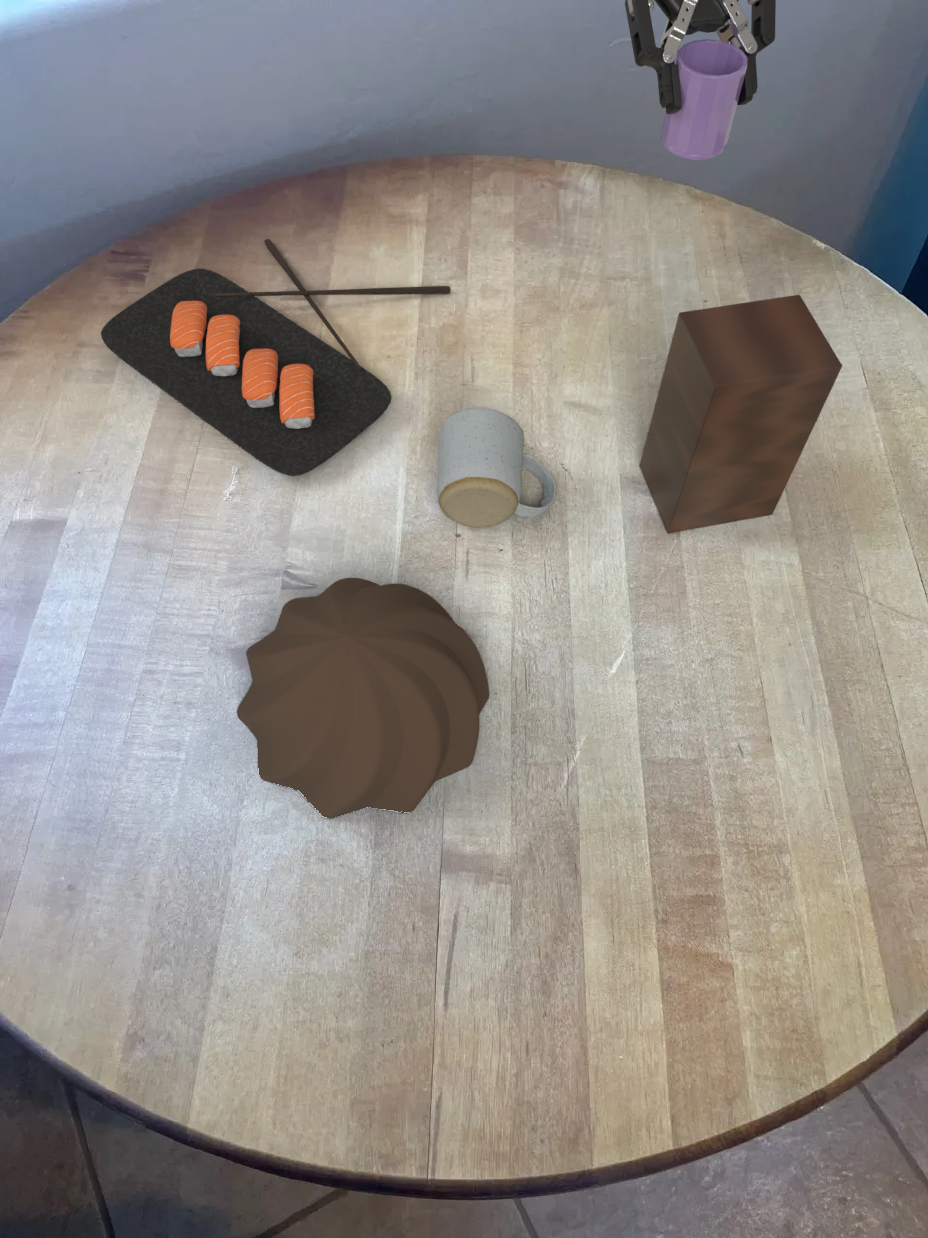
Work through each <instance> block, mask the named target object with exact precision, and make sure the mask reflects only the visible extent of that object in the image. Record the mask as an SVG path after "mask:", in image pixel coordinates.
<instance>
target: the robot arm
mask: <svg viewBox="0 0 928 1238" xmlns="http://www.w3.org/2000/svg"><path fill="white" fill-rule="evenodd" d="M739 1H740V0H624V7H625V13H626V19H627V24H628V31H629V36H630V40H631V48H632V52H633V58H634V62H635V65H636V66H637V67H644V66H646V67H649V68H652V69H653V70H654V71H655V72H656V76H657V77H656V78H657V87H658V99H659V105H660V107H661V109H665V113H667V114H675V113H676V112H678V111H679V110H680V109H681V106H682V101H681V89H680V77H679V68H678V64H675V62H676V57H677V52H678V50H679V49H680V48H681V47H680V46H681V45H682V41H683V39H684V37H685V36H691V35H694V34H696V33H698V32H701V33H705V34H708V33H716V34H717V36H718V38H719V40H720V41H723V42H727V43H730V44H733V45H734V46H736V47H737V48H739V49H741V50H742V51H743V52H744V54H745V55H746V57H747V58H748V62H747V69H746V73H745V77H744V81H743V84H742V88H741V92H740V96H739V100H738V104H737V106H744V105H747V104H748V103H750V102H752V100H753V98H754V95H755V94H756V93H757V90H758V88H759V87H758V84H759V83H758V71H757V55H758V53H761V52H762V51H763V50H764V49H766V48H767V47H768V46H770V45H771V44H772V43H774V42H775V40H776V10H777V9H776V8H777V7H776V5H777V3H776V2H777V0H747V4H748V5H750V6H751V13H750V14H751V17H750V18H751V20H750V21H751V23H750V25H751V28H750V27H749V26H748V24H749V20H748V18H747V16H746V14H745V12H744V11H743V8H742V7H741V5H740V3H739ZM655 3H656V5H657V6H658V7H659V9H660V10H661V11H662V13H663V14H664V15H665V16H666V18H667V22H666V24H665V27H664V30H663V33H662V35H661V37H660V41H659V42H660V45H659V47H657V45H656V39H655V34H654V33H655V32H654V28H653V23H652V16H651V13H652V12H653V10H654V8H655Z"/></svg>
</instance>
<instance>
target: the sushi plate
mask: <svg viewBox="0 0 928 1238" xmlns="http://www.w3.org/2000/svg"><path fill="white" fill-rule="evenodd" d="M264 245H265V247H266V246H267V247H266V248H267V249H268V251H269V252H270V254H271V255H272V256H273V258H274V259H275V260H276V262H277V263H278V264H279V266H280V267H281V268H282V270H283V272H284V273H286V275H287V276H288V277H289V279H290V280H291V281H292V283H293V284H294V285H295V287H296V288H297V289H298V290H286V291H285V290H283V291H247V290H246V289H245V288H243V287H241V286H239V285H238V284H236V283H235V282H233V281H232V280H230V279H228V278H227V277H225V276H223V275H222V274H220V273H217V272H215V271H213V270H211V269H208V268H207V269H206V268H200V267H199V268H198V267H197V268H193V269H189V270H186V271H184V272H182V273H179V274H178V275H176V276H175V277H172V278H171V279H169V280H167V281H165V282H164V283H162V284H161V285H159V286H157V287H156V288H155V289H152V290H151V291H150V292H148V293H147V294H145V295H144V296H142V297H140V298H139V299H138V300H136V301H134V302H133V303H131V304H130V305H129V306H127V307H126V308H124V309H123V310H121V311H120V312H118V313H116V315H115V316H113V317H112V318H111V319H110V320H109V321H107V322H106V323H105V325H103V327H102V329H101V331H100V337H101V339H102V341H103V344H104V345H105V346H106V347H107V348H108V349H109V350H110V351H111V352H112V353H113V354H114V355H115V356H117V358H119V359H120V360H122V361H123V362H124V363H125V364H127V365H128V366H130V367H131V368H132V369H134V370H135V371H136V372H138V374H140V375H142V376H143V377H144V378H145V379H147V380H148V381H149V382H151V383H152V384H154V385H155V386H157V387H158V388H159V389H161V390H162V391H163V392H164V393H166V394H167V395H169V396H170V398H173V399H174V400H175V401H177V402H178V403H180V404H181V405H183V407H185V408H186V409H187V410H189V411H190V412H192V413H193V414H194V415H196V416H197V417H198V418H200V419H201V420H203V421H204V422H205V423H207V424H208V425H209V426H211V427H212V428H213V429H215V430H216V431H218V432H219V433H220V434H222V436H224V437H226V438H227V439H228V440H230V441H231V442H232V443H234V444H235V445H237V447H239V448H240V449H242V450H243V451H244V452H246V453H247V454H249V455H251V456H252V457H253V458H254V459H256V460H257V461H259V462H260V463H261V464H264V466H266V467H268V468H269V469H272V470H273V471H275V472H277V473H280V474H283V475H286V476H291V477H297V476H302V475H305V474H306V473H309V472H311V471H313V470H315V469H317V468H318V467H320V466H321V465H323V464H324V463H326V462H327V461H328V460H329V459H331V458H333V457H334V456H335V455H337V453H338V452H339V453H340V451H341V450H342V449H344V448H345V447H346V446H347V445H349V444H350V443H351V442H352V441H353V440H355V439H356V438H357V437H358V436H360V435H361V434H362V433H363V432H365V430H366V429H368V428H369V427H370V426H371V425H373V424H374V423H375V422H376V421H377V420H378V419H379V418H380V417H381V416H383V414H384V413H385V412H386V410H387V409H388V408H389V406H390V404H391V401H392V398H393V397H392V393H391V391H390V390H389V388H388V387H387V385H386V383H384V382H383V381H382V380H380V379H379V378H378V377H377V376H375V375H374V374H372V373H371V372H370V371H368V370H367V369H365V367H363V366H361V365H360V363H359V362H358V361H357V359H356V358H355V357H354V355H353V354H352V353H351V351H350V349H349V348H348V347H347V346H346V344H345V343H344V342H343V340H342V339H341V336H339V334H338V333H337V331H335V329H334V327H333V326H332V325H331V323H330V322H329V321H328V319H327V318H326V316H325V315H324V314H323V312H322V311H321V310H320V308H319V307H318V305H317V304H316V303H315V301H314V300H313V298H312V297H311V296H357V295H358V296H378V295H379V296H381V295H383V296H387V295H388V296H389V295H390V296H391V295H393V296H394V295H397V296H398V295H400V296H401V295H447V294H450V293H451V286H449V285H430V286H399V287H398V286H397V287H372V288H371V287H369V288H344V289H321V290H319V289H317V290H306V289H305V286H303V284H302V282H301V281H300V280H299V279H298V277H297V275H296V274H295V273H294V272H293V270H292V268H291V267H290V266H289V264H288V262H286V260H285V259H284V257H283V256H282V255H281V253H280V252H279V250H278V249H277V247H276V246H275V245H274V243H273V242H272V240H271V239H270V238H266V239H264ZM278 296H279V297H281V296H283V297H284V296H303V297H304V299H305V300H306V301H307V302H308V304H309V305H310V307H311V308H312V309H313V310H314V312H315V313H316V314H317V315H318V317H319V319H320V320H321V321H322V322H323V324H324V325H325V327H326V328H327V329H328V330H329V332H330V333H331V335H332V336H333V337H334V339H335V340H336V341H337V343H338V344H339V346H340V347H341V348H342V350H343V351H344V352H345V353H346V355H347V356H346V355H345V354H343V353H342V352H340V351H339V350H338V349H336V348H334V347H333V346H331V345H329V343H326V342H325V341H323V340H322V339H320V338H319V337H318V336H316V335H314V334H313V333H311V331H308V330H306V329H305V328H304V327H302V325H301V326H300V325H299V324H297V323H296V322H294V321H293V320H292V319H290V318H289V317H287V316H285V315H284V314H282V313H281V312H279V311H278V310H276V309H275V308H274V307H271V306H270V305H269V304H267V303H266V302H264V301H262V300H261V299H259V298H258V297H278Z"/></svg>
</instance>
